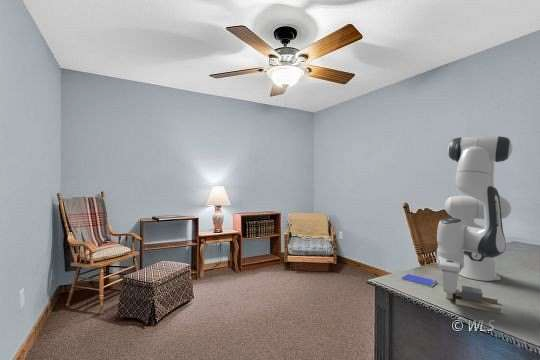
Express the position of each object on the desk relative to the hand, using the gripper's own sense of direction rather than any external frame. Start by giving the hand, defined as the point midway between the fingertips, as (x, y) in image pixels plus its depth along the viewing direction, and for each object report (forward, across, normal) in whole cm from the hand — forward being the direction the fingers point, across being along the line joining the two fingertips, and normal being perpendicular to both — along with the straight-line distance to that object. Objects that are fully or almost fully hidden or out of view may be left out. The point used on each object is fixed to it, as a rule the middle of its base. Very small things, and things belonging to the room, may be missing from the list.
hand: (449, 296), depth 106 cm
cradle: (+2, -4, +6) cm, 8 cm away
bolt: (+2, -8, 0) cm, 9 cm away
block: (+2, -3, +7) cm, 8 cm away
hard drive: (+2, -17, -12) cm, 21 cm away
